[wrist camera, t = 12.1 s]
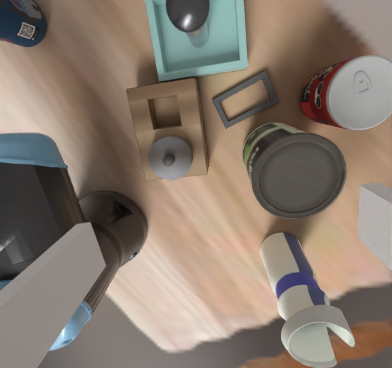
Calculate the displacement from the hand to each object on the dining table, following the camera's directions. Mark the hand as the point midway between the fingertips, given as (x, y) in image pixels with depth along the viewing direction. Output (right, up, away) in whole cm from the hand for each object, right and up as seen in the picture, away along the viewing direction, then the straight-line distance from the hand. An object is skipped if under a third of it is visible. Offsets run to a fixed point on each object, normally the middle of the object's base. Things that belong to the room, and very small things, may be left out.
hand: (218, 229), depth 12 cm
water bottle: (+15, -10, +34) cm, 39 cm away
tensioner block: (-5, +11, +29) cm, 31 cm away
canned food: (+19, +16, +25) cm, 35 cm away
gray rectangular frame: (+7, +15, +26) cm, 31 cm away
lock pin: (-1, +24, +23) cm, 34 cm away
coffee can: (+12, +7, +29) cm, 32 cm away
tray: (-1, +24, +24) cm, 34 cm away
